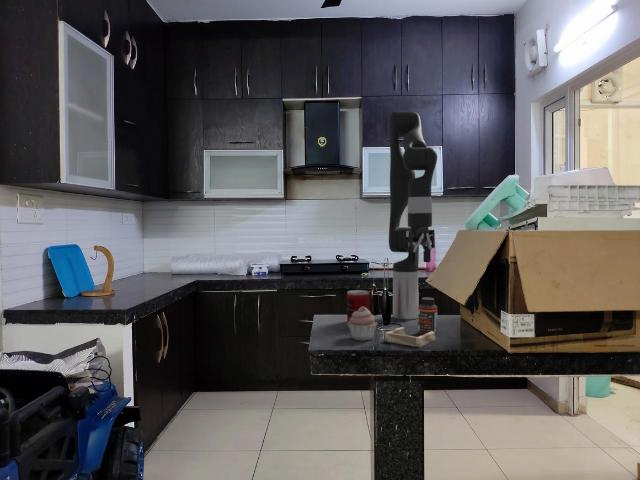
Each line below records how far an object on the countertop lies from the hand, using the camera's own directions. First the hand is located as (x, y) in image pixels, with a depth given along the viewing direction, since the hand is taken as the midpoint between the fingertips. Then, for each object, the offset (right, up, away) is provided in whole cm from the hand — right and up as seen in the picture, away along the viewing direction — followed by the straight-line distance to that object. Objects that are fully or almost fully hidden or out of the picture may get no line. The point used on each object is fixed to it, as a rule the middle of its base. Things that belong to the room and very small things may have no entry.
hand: (419, 263), depth 158 cm
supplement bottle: (+3, -23, +2) cm, 23 cm away
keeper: (-4, -23, -7) cm, 24 cm away
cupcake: (-18, -23, -5) cm, 30 cm away
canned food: (-18, -22, +19) cm, 34 cm away
